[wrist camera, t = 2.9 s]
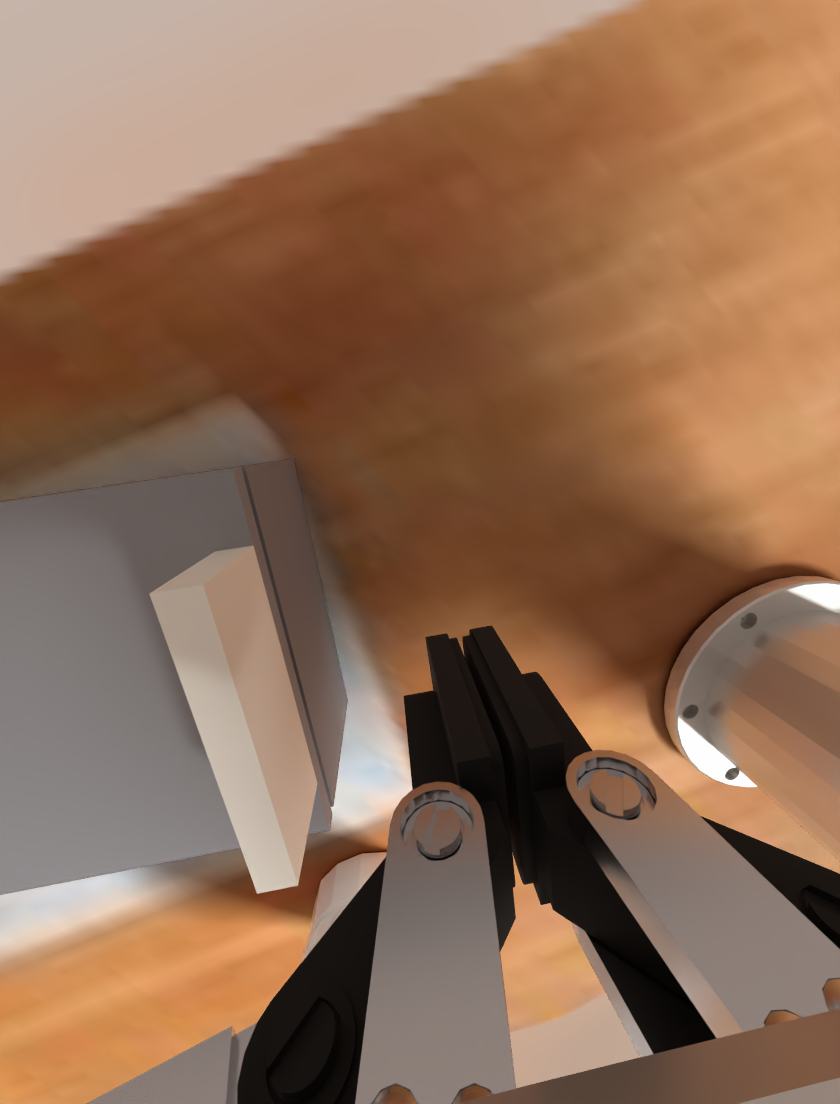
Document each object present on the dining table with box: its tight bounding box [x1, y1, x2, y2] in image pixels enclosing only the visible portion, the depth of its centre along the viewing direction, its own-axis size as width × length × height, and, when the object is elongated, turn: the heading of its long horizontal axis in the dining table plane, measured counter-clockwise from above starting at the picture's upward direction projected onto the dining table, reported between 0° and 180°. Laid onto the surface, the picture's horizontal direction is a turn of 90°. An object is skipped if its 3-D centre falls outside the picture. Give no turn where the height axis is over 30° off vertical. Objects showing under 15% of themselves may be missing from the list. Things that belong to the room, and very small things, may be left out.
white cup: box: [302, 852, 387, 962], centre depth 19 cm, size 8×8×10 cm
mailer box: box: [0, 459, 348, 807], centre depth 15 cm, size 20×12×6 cm, turn 98°
